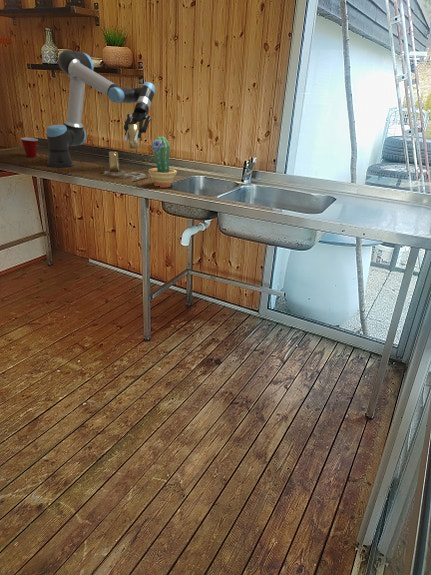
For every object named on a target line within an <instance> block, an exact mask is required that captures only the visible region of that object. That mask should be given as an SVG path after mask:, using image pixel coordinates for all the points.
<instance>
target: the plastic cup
mask: <svg viewBox="0 0 431 575" xmlns="http://www.w3.org/2000/svg"><path fill="white" fill-rule="evenodd" d="M20 140H21V142H22V145H23V150H24V151H25V154H26V157H27V158H36V157H37V151H38V141H39V139H38V138H35V137H20Z"/></svg>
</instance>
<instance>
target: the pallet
mask: <svg viewBox="0 0 431 575" xmlns="http://www.w3.org/2000/svg"><path fill="white" fill-rule="evenodd" d="M100 175H102V176H106V177H112V178H120V179H125V180H132V183H136V182H140V181H143V180H144V181H145V180H147V179H149V176H148V175H146V174H145V173H140V172H133V171H132V172H126V171H125V170H121V169H119V172H117V173H114V172H110V169H108V170H103V173H102V174H100Z"/></svg>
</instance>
